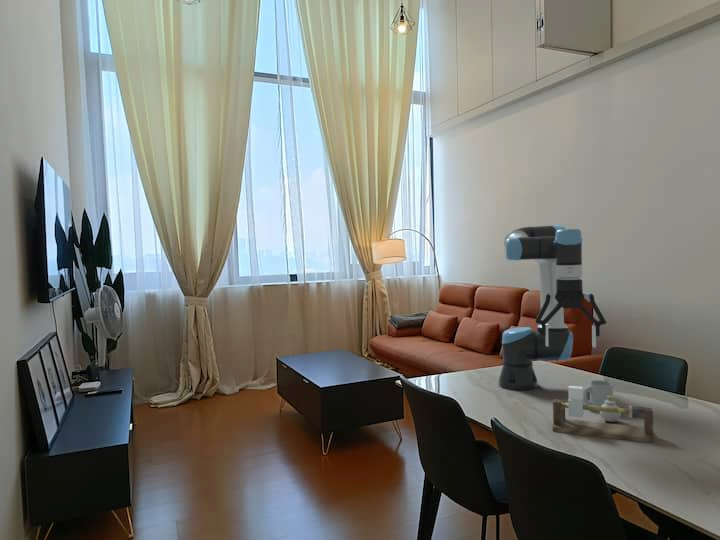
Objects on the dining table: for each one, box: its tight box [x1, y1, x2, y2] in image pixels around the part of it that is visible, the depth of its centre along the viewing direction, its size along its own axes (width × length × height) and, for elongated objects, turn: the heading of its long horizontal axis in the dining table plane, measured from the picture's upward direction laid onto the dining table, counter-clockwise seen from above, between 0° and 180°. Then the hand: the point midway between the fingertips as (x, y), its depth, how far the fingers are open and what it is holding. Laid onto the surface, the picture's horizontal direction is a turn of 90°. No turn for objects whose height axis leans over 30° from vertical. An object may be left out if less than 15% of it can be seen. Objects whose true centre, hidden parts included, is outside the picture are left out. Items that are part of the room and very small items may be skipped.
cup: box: [583, 379, 614, 406], centre depth 172 cm, size 7×10×9 cm
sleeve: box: [567, 385, 584, 418], centre depth 155 cm, size 4×5×8 cm
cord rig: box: [552, 398, 655, 444], centre depth 152 cm, size 27×9×9 cm, turn 64°
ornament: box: [598, 391, 622, 423], centre depth 160 cm, size 6×7×10 cm
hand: (570, 346), depth 156 cm, fingers open, 13 cm apart
